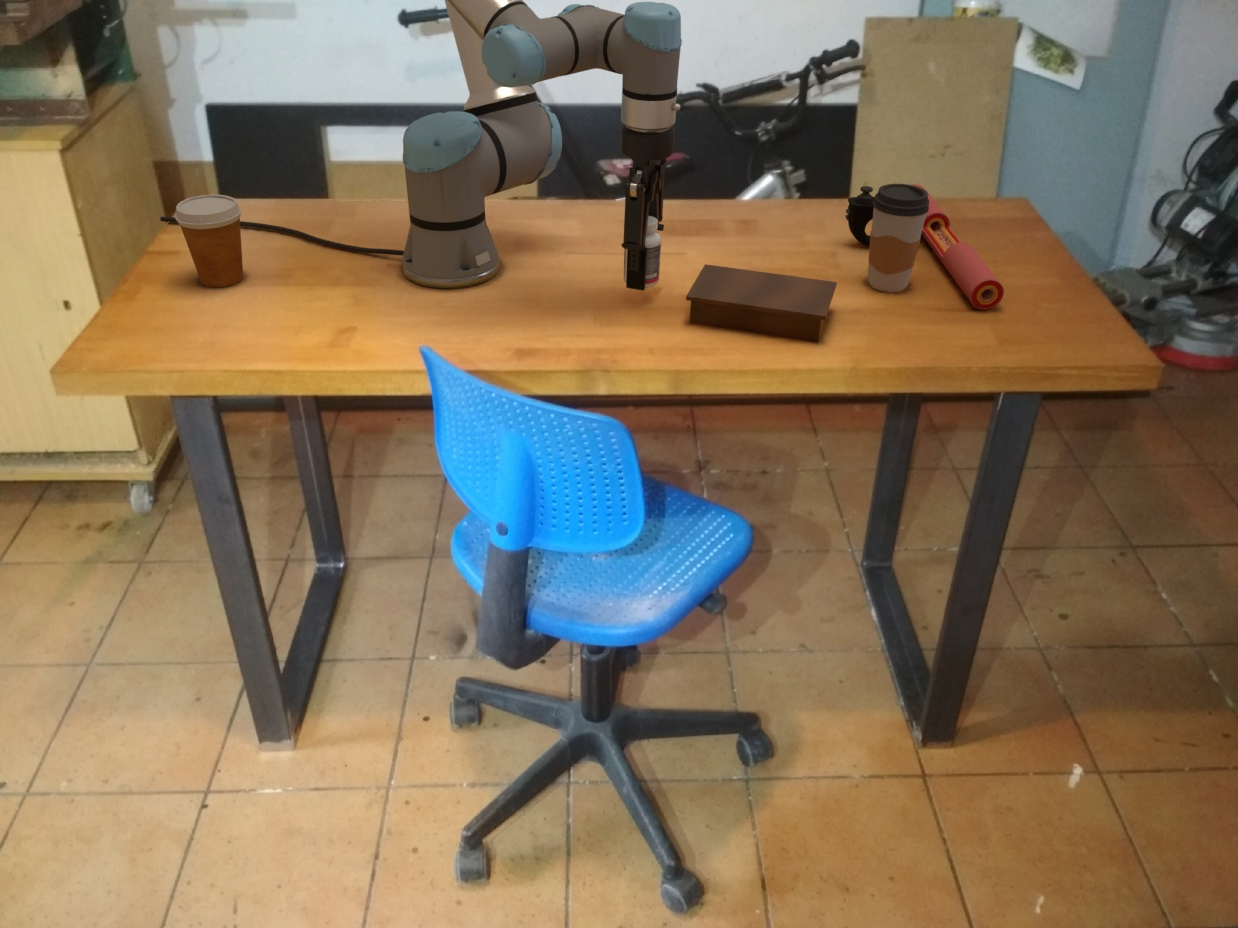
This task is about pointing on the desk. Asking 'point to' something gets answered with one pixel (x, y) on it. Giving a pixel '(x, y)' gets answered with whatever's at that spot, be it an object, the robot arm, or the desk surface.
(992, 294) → the blood vessel
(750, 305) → the stand
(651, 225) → the pill bottle
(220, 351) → the desk surface
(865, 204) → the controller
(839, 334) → the desk surface
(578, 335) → the desk surface
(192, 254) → the disposable coffee cup
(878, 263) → the coffee cup
